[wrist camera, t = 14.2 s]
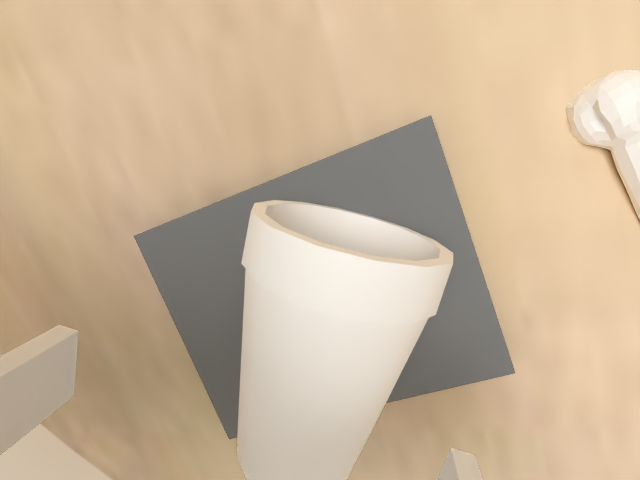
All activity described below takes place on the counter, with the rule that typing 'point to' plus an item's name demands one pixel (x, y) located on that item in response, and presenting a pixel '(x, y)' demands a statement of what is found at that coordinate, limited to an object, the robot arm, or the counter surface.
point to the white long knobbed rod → (612, 123)
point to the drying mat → (353, 195)
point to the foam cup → (326, 333)
